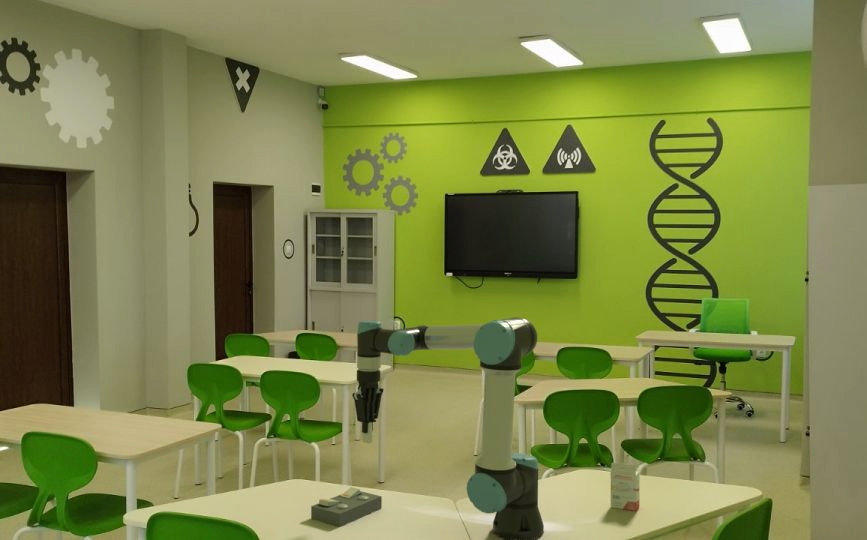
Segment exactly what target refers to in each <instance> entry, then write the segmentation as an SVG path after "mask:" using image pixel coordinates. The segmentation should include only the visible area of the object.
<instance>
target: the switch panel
mask: <svg viewBox="0 0 867 540" xmlns="http://www.w3.org/2000/svg"><path fill="white" fill-rule="evenodd" d="M342 494H343V493H341V494H339V495H336V496H334V497H331V498H330V499H332V500H336V501H340V503H339V504H336V505H334V506H325V505H321V504H319V502H318V503H316V504H313V505H311V507H310V509H311V510H310V511H311V517H310V518H311V520H314V521H318V522H322V523H324V524H328V525H332V526H336V527H340V528H341V527H343V526H345V525H347V523H348V524H350V523H352V522H354V521H356V520H359V519H361V518H363V516H364V517H365V515H366V516H367V514H368V515H370V514H372V512H373V513H375V512H376V511H377V512H378V511H379V510H381V508H382V501H383V500H382V499H383V498H382V495H377V494H374V493H369V492H364V491H361V490H360V494H358V495H357V496H356V497H353V498H351V499H345V498H341V497H340V496H341V495H342ZM382 509H383V508H382ZM374 511H375V512H374Z"/></svg>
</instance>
